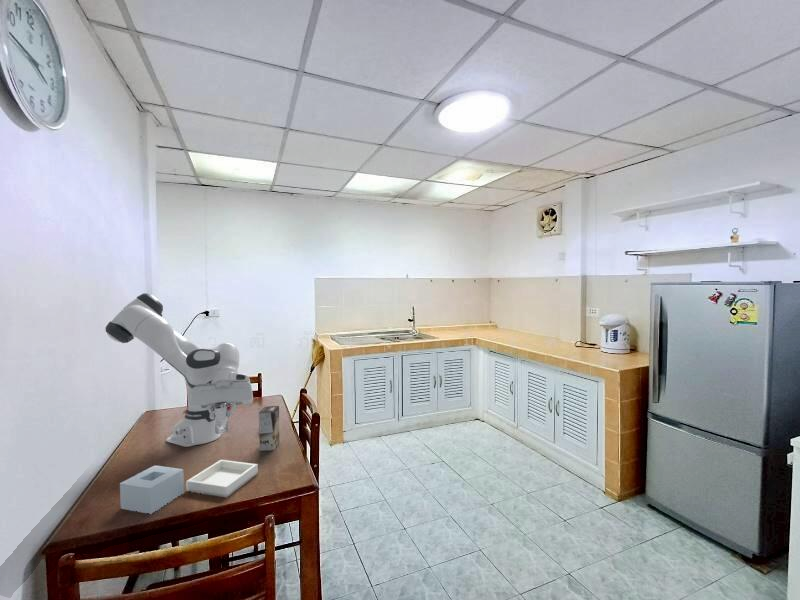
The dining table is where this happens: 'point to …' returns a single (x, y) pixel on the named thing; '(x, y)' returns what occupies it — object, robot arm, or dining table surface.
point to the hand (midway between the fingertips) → (220, 417)
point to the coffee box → (269, 428)
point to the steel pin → (221, 417)
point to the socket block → (151, 489)
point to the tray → (222, 478)
